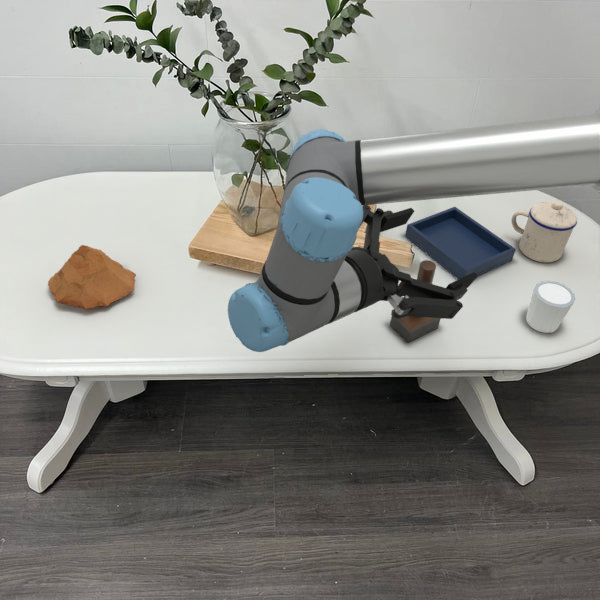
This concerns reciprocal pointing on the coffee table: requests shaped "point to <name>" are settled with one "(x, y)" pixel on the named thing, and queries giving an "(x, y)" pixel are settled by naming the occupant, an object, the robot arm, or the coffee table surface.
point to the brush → (415, 325)
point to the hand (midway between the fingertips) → (439, 246)
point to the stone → (91, 280)
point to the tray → (459, 243)
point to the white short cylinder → (549, 306)
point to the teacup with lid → (545, 230)
